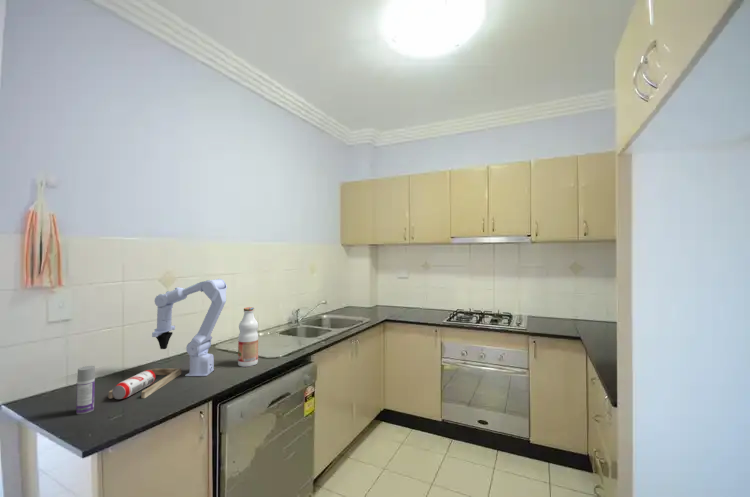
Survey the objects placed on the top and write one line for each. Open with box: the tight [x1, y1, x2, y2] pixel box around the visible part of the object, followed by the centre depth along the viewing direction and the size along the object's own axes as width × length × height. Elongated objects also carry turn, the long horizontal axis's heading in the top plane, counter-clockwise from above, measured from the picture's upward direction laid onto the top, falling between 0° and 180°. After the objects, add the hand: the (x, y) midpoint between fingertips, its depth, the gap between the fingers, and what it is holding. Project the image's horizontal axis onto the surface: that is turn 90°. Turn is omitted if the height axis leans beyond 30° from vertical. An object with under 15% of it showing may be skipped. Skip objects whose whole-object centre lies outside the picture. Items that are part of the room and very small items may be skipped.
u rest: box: [108, 368, 182, 399], centre depth 137 cm, size 13×25×2 cm, turn 2°
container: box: [75, 365, 96, 415], centre depth 115 cm, size 5×5×15 cm
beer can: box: [111, 369, 157, 400], centre depth 131 cm, size 6×6×16 cm
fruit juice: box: [237, 306, 259, 368], centre depth 165 cm, size 9×9×28 cm
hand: (163, 348), depth 153 cm, fingers closed
